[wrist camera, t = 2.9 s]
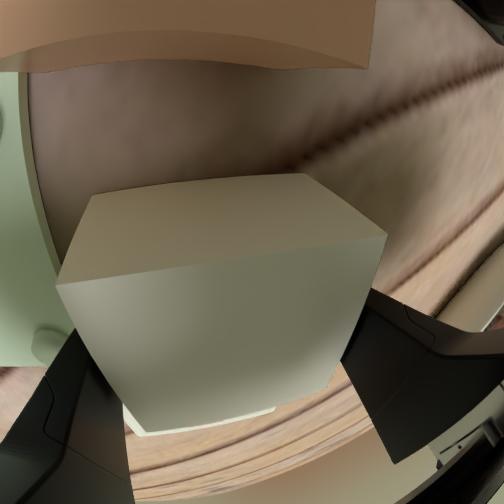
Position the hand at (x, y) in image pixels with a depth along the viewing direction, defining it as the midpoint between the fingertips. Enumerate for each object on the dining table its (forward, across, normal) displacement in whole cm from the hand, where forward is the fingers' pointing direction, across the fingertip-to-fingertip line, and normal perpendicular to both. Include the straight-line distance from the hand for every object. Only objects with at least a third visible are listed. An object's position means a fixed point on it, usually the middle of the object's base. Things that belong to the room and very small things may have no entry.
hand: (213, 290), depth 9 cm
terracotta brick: (+1, +1, -10) cm, 10 cm away
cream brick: (+1, 0, 0) cm, 1 cm away
